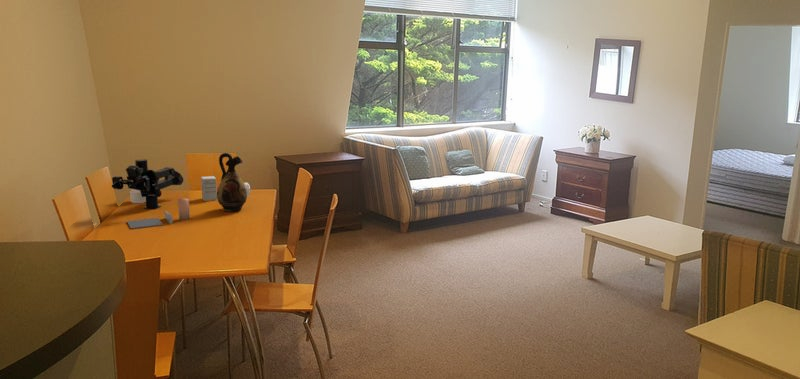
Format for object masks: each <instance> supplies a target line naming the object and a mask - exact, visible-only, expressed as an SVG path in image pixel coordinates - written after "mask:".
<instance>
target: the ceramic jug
mask: <svg viewBox="0 0 800 379" xmlns="http://www.w3.org/2000/svg"><path fill="white" fill-rule="evenodd" d="M224 158H228V160H227V161H226V162H225V165H224V162H223V160H224ZM243 162H244V161H243V160H242V159H241V158H240V156H234V157H233V156H232V155H231V154H230V153H228V152H223V153H222V154H220V155H219V157H218V163H219V167H220V169H221V172H222V175H221V180H220V183H219V185H218V187H217V200H216V201H217V202H218V204H219V205H220V206H221V207H222V210H223V211H225V212H233V213H234V212H240V211H242V207H243V206H244V204H246V202H247V200H248V197H247V191H246V187H245V185H244V183H245V182H244V181H243V180H242V178H241V176H240V175H239V174H238V173H237V171H236V166H238V165H240V164H243ZM225 166H226V167H227V170H226V168H225Z"/></svg>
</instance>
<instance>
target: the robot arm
mask: <svg viewBox="0 0 800 379" xmlns="http://www.w3.org/2000/svg"><path fill="white" fill-rule="evenodd" d="M134 163H135V165H129V166H128V167H126V168H125V171H126V173H127V176H126V179H123V177H122V176H112V178H111V180H112V184H111V188H112V189H114V190H122V189H124V185H126V186H128V187H127V188H128V189H130V190H131V189H135V190H140V192H141V195H142V197H146V202H145V206H144V207H143V209H146V210H156V209H159V208H160V207H162V205H159V198H160V197H161V196H162V189H165V188H168V187H170V186H181V185H183V182H184V177H183V176H182V175H181V173H180V172H178V171H177V170H175V168H173V167H164V168H160V169H158V170H153V169H149V165H148V159H146V158H145V159H135V160H134ZM162 178H163V179H162ZM160 179H161V180H160Z"/></svg>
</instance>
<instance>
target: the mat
mask: <svg viewBox="0 0 800 379" xmlns="http://www.w3.org/2000/svg"><path fill="white" fill-rule="evenodd" d="M127 223H128V224H127ZM126 224H127V225H128V227H129V228H130V230H136V229H145V227H146V228H153V226H154V227H159V226H161V227H162V226H164V224H163V222H162V221H161V220H160V219H159V217H151V218H143V219H133V220H127V221H126Z"/></svg>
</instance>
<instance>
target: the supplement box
mask: <svg viewBox="0 0 800 379" xmlns="http://www.w3.org/2000/svg"><path fill="white" fill-rule="evenodd" d="M200 179H201V180H200V183H201V196H202V197H201V198H202V199H203V201H204V202H209V201H218V200H217V189H218V187H217V178H216V177H215V176H214V175H209V176H208V175H207V176H200Z"/></svg>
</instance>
